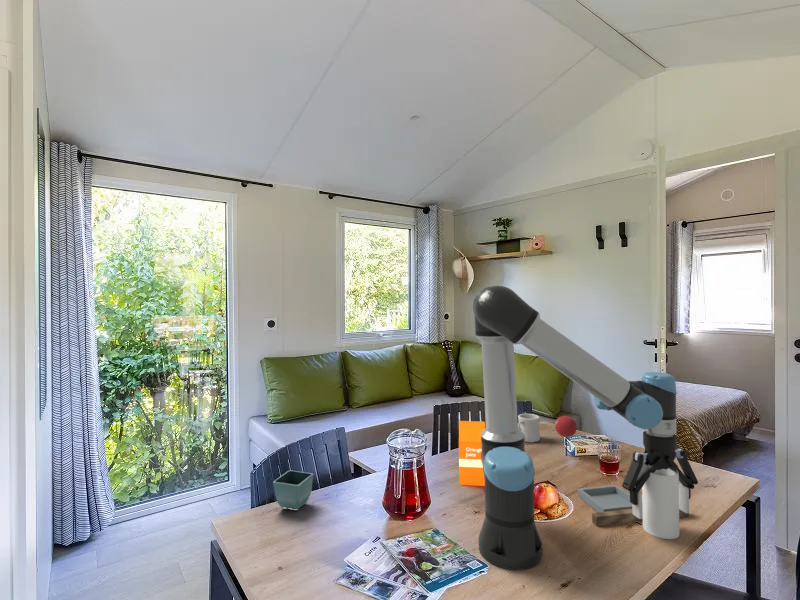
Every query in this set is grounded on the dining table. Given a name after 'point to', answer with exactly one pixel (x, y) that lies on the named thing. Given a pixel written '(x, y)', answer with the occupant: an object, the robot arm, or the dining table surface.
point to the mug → (529, 427)
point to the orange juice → (470, 453)
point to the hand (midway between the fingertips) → (660, 513)
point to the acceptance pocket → (605, 498)
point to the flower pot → (293, 489)
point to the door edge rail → (619, 517)
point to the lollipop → (565, 427)
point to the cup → (661, 504)
